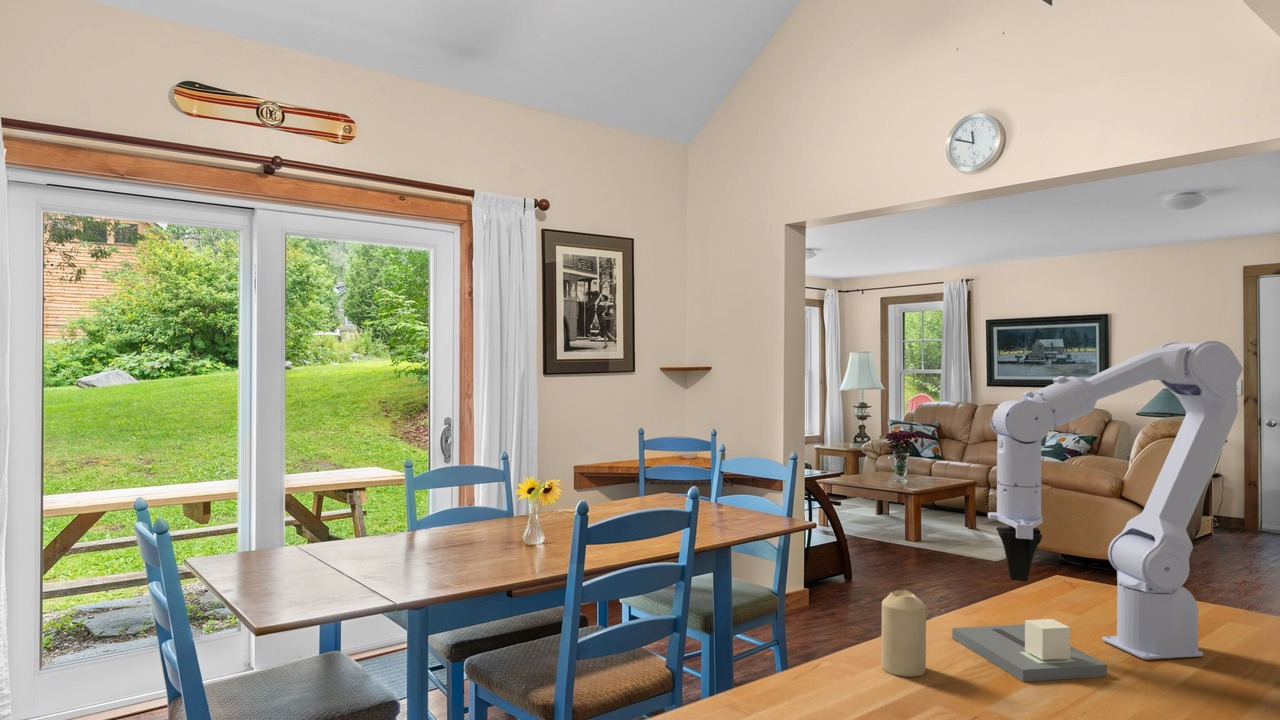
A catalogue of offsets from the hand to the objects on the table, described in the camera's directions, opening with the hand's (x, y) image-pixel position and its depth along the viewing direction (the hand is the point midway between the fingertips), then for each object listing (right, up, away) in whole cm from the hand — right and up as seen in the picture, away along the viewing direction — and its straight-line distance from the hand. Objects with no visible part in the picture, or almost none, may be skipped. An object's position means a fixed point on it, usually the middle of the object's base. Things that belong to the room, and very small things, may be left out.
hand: (1018, 579), depth 113 cm
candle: (-20, -9, -9) cm, 24 cm away
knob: (0, -7, -9) cm, 11 cm away
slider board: (-1, -9, -4) cm, 10 cm away
